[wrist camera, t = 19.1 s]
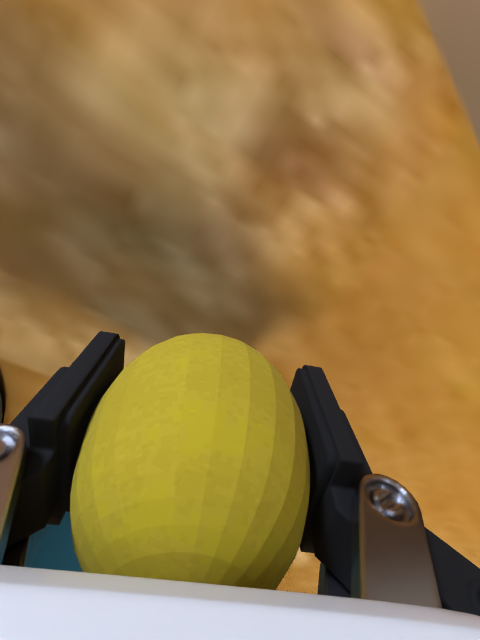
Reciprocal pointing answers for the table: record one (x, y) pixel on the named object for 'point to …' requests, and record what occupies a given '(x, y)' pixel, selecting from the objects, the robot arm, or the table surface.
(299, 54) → the table surface
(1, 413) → the cooker lid
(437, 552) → the robot arm
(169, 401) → the lemon
